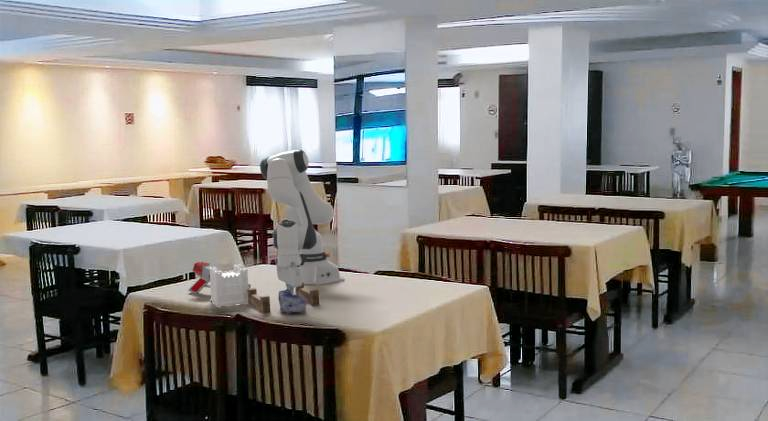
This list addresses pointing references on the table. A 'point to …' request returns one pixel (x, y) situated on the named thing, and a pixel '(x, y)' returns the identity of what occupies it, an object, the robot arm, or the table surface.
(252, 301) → the wooden brackets
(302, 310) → the mineral
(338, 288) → the table surface
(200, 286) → the toy gun
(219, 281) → the castle model
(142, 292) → the table surface
